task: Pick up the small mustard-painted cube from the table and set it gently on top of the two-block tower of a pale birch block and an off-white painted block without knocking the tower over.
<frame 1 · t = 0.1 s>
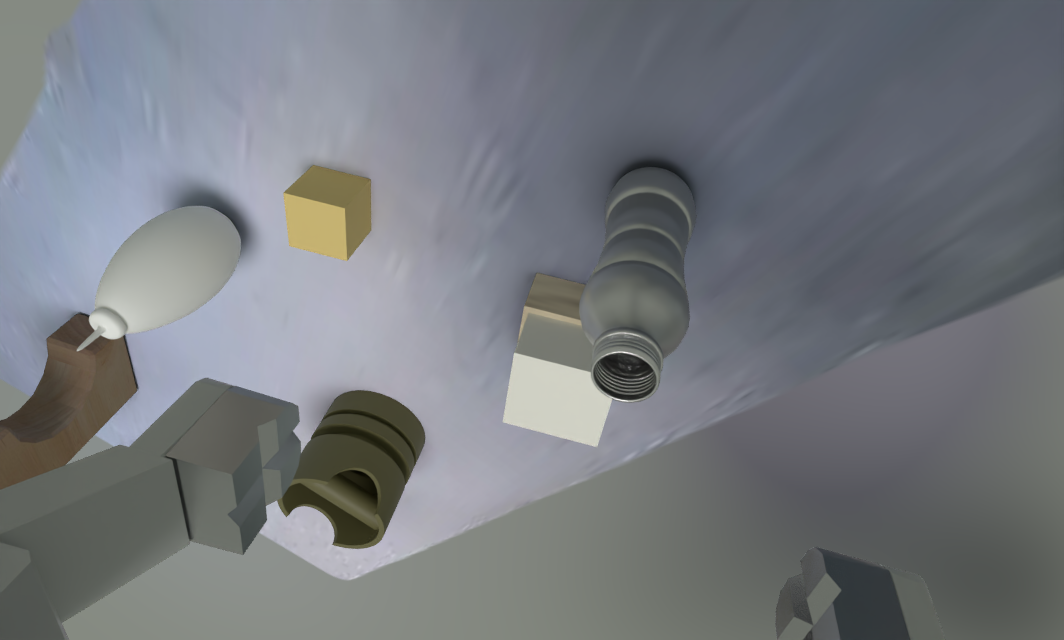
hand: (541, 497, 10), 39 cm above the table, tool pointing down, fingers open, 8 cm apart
mustard cube: (343, 198, 55), on the table
painted tower top: (568, 359, 55), point 5 cm above the table, touching birch tower base
air blower bulb: (223, 223, 60), on the table
decorative block: (110, 351, 76), on the table
birch tower base: (577, 323, 59), on the table, touching painted tower top
plastic bottle: (652, 196, 49), on the table
piston: (378, 425, 74), on the table
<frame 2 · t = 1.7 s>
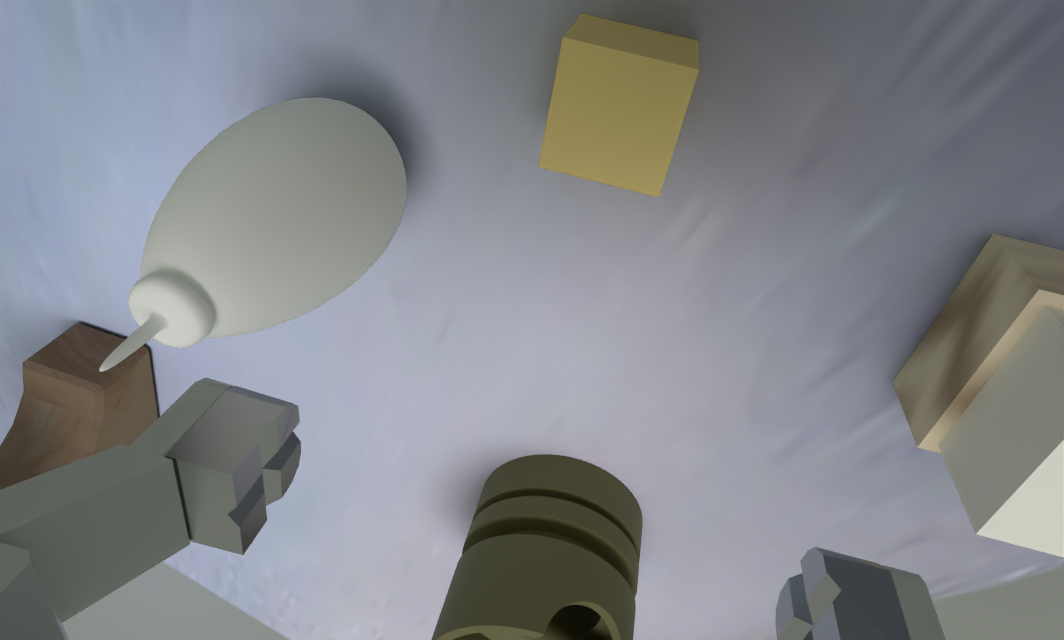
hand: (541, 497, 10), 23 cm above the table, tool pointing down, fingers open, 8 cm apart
mustard cube: (624, 86, 29), on the table
air blower bulb: (364, 149, 33), on the table
decorative block: (125, 386, 48), on the table
birch tower base: (1030, 335, 31), on the table, touching painted tower top
piston: (561, 510, 46), on the table
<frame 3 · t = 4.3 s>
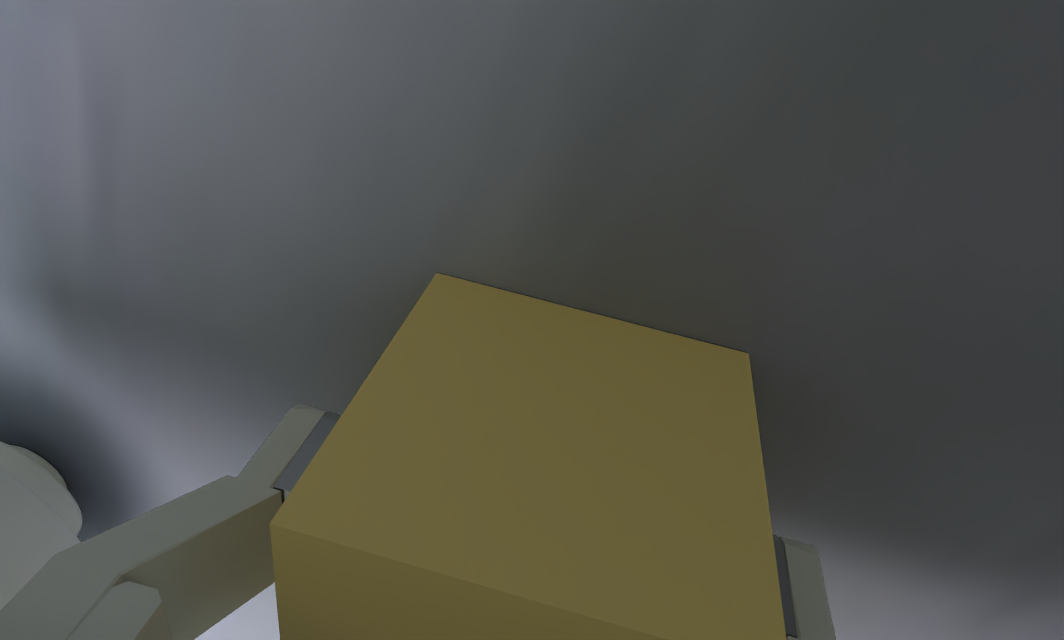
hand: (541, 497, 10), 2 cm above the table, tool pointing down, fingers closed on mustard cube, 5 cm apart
mustard cube: (558, 426, 12), on the table, touching gripper
air blower bulb: (37, 467, 16), on the table
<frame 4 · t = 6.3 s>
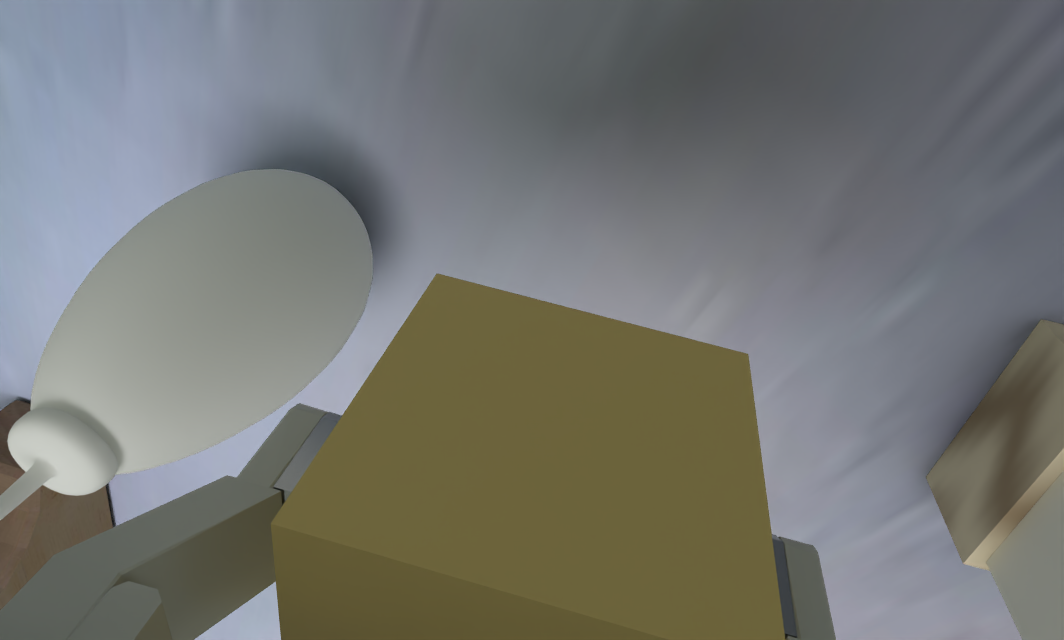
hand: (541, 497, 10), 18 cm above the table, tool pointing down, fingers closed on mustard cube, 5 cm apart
mustard cube: (558, 427, 12), point 16 cm above the table, touching gripper
air blower bulb: (328, 219, 29), on the table
decorative block: (72, 465, 43), on the table
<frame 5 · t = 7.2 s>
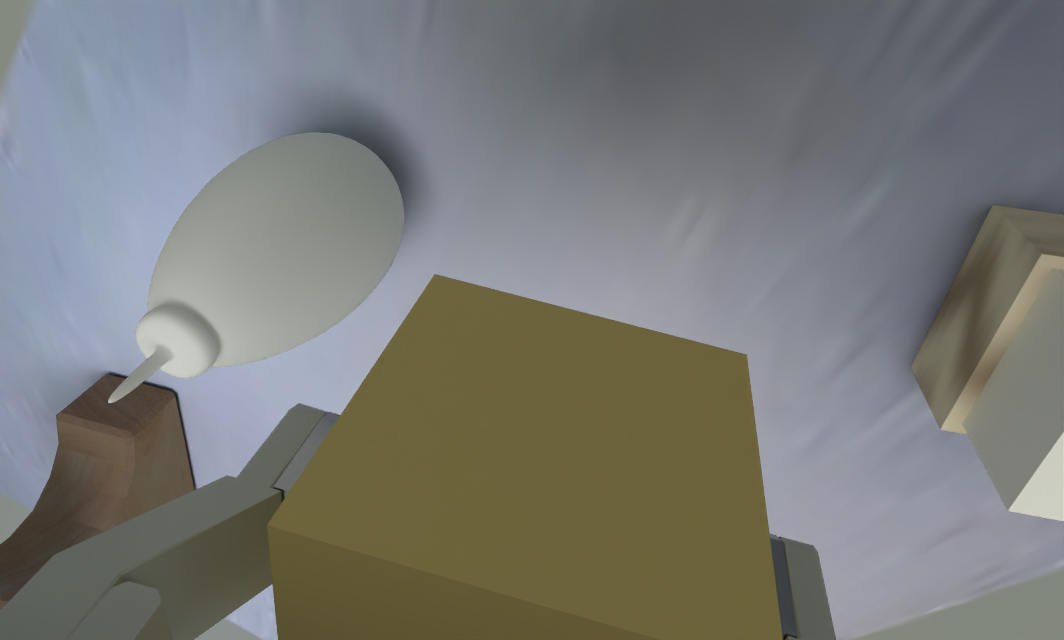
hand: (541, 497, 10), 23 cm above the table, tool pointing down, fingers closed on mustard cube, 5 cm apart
mustard cube: (557, 427, 12), point 21 cm above the table, touching gripper
air blower bulb: (363, 179, 34), on the table
decorative block: (156, 433, 49), on the table
birch tower base: (1047, 305, 31), on the table, touching painted tower top
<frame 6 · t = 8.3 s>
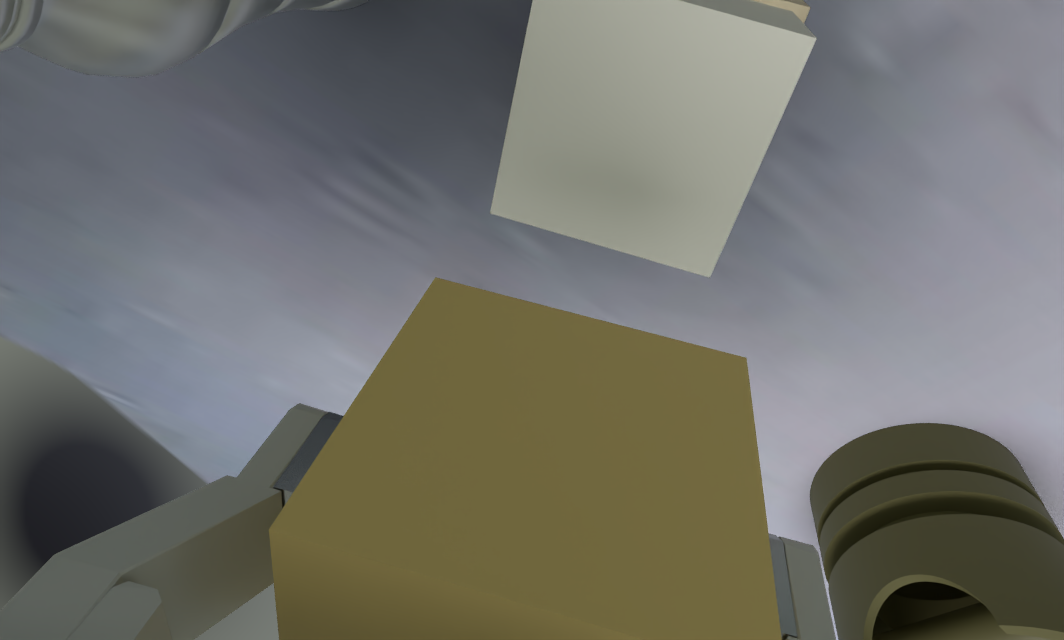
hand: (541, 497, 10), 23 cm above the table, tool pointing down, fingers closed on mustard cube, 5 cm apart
mustard cube: (557, 430, 12), point 22 cm above the table, touching gripper
painted tower top: (642, 95, 25), point 5 cm above the table, touching birch tower base
birch tower base: (648, 74, 29), on the table, touching painted tower top
piston: (911, 493, 39), on the table
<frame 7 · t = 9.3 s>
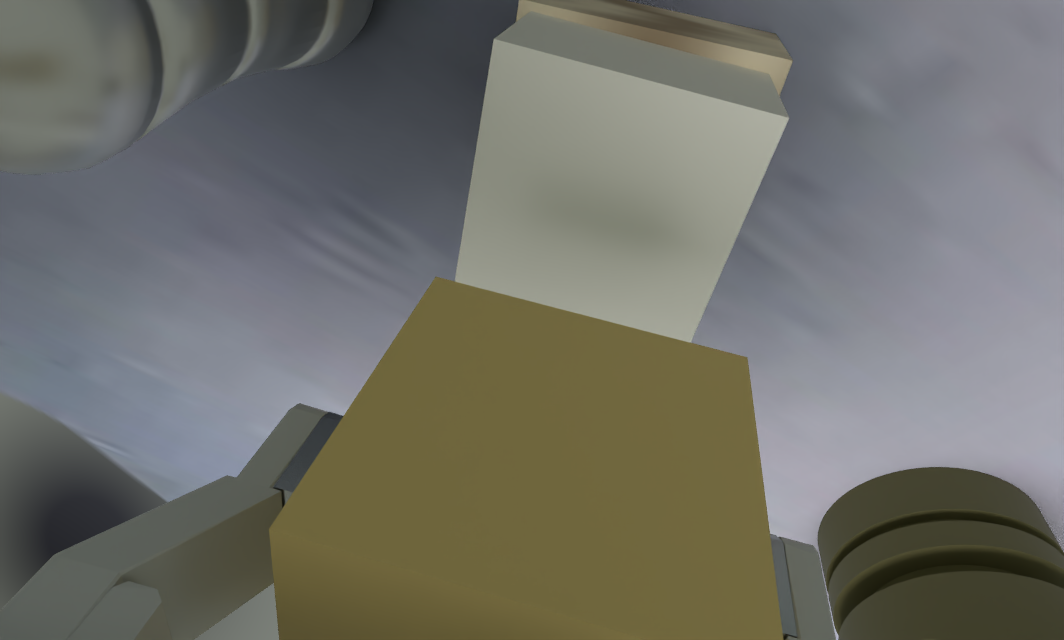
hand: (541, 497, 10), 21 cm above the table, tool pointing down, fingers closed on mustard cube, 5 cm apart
mustard cube: (558, 430, 12), point 19 cm above the table, touching gripper
painted tower top: (615, 157, 23), point 5 cm above the table
birch tower base: (629, 121, 28), on the table
piston: (924, 536, 37), on the table
when the fingers open (13 cm above the table, at t = 11.7 s): mustard cube drops 2 cm, point 10 cm above the table.
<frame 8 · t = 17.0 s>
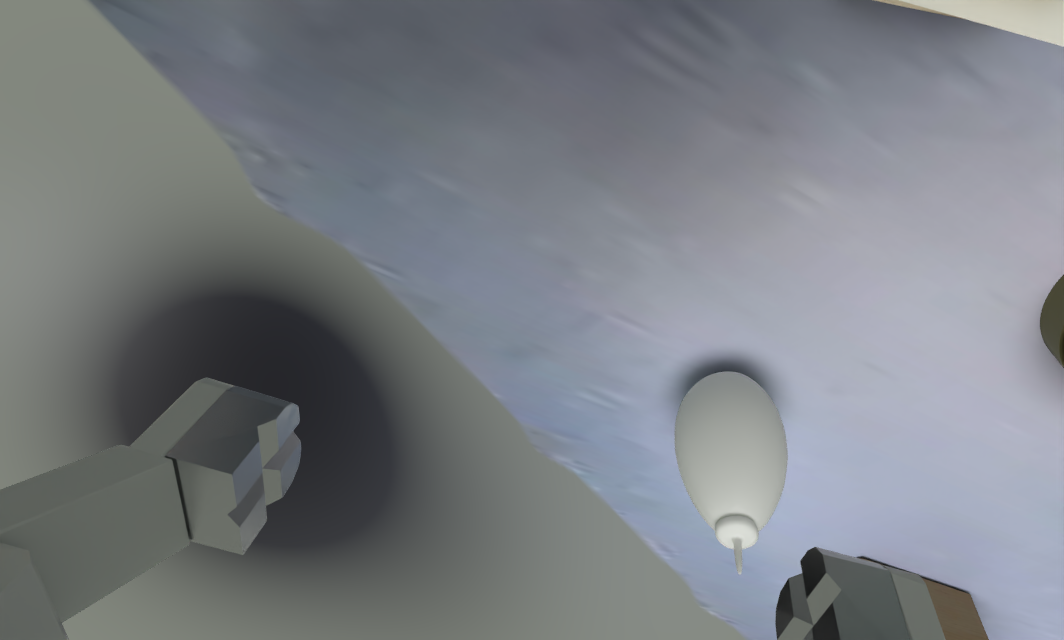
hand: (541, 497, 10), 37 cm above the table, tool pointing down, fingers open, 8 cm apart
air blower bulb: (725, 385, 54), on the table
decorative block: (898, 587, 62), on the table
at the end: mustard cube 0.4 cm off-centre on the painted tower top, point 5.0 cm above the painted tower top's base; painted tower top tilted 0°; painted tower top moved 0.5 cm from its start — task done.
